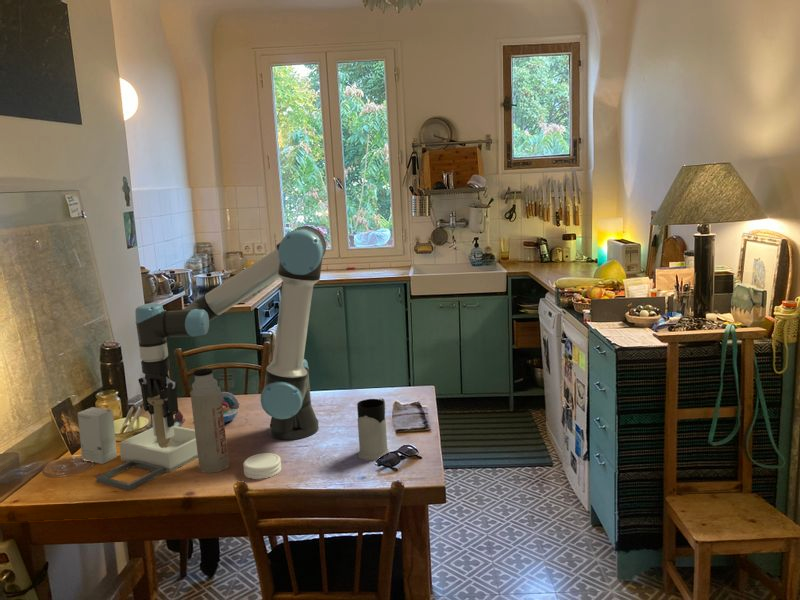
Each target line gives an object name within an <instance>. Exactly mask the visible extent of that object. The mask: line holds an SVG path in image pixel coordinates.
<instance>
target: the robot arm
mask: <svg viewBox="0 0 800 600" xmlns="http://www.w3.org/2000/svg"><path fill="white" fill-rule="evenodd" d="M274 247H275V249H274V250H273V251H271V252H269V253H268V254H266V255H264V256H263V257H262V258H259V260H257V261H256V262H254V263H252V264H250V265H249V266H248V267H246V268H245V269H243V270H241V271H240V272H238V273H237V274H235V275H233V276H232V277H230V278H229V279H227V280H226V281H224V282H222V283H221V284H219V285H217V286H216V287H214V288H212V289H211V290H209V292H207V293H206V294H204V295H202V296H200V297H199V298H197V299H195V300H193V301H192V302H190V303H189V304H188V305H187V306H185V307H184V308H182V309H179V310H165V309H164V308H163V307H164V306H163V305H162V303H147V304H146V303H145V304H141V305H139V306H137V307H135V310H134V311H135V313H134V314H135V325H136V331H137V332H136V333H137V339H138V349H139V357H140V360H141V361H140V365H141V372H142V374H144V376H143V377H140V378H138V380H137V381H138V383H139V385H140V390H141V391H140V392H141V397H142V404H143V410H144V412H148V413H149V414H150V421H151V422H152V424H153V431H154V436H157V435H156V428H155V415H154V406H153V405H151V404H149V403H148V400H147V398H148V397H150V398H153V397H155V396H158V395H160V399H163V400H164V399H166V398H168V400H167V401H165V400H164V404H163V405H162V406H163V410H164V414H165V415H164V416H163V422H164V430H165V438H166V439H168V438H170V437H172V436H174V427H173V426H174V418H175V417H174V416H175V414H177V413H178V410H179V405H178V404H179V402H178V401H179V400H178V391H177V390H178V389H177V388H178V381H177V380H172V379H171V378H170V375H169V370H170V369H171V365H170V358H169V357H168V356H169V349H168V339H167V338H185V337H188V338H190V337H193V338H194V337H200V336H205V335H207V334H208V332H209V330H210V322H211V321H213V320H214V319H215V318H217V317H219V316H220V315H223V313H225V312H227V311H228V310H229V309H232V308H233V307H235V306H236V305H238V304H239V303H241V302H243V301H244V300H246V299H247V298H249V297H251V296H253V295H254V294H255V293H257V292H259V291H260V290H262V289H263V288H265V287H267V286H268V285H270V284H272V283H274V282H275V281H276V280H277V279H279V278H280V279H281V281H282V283H281V284H282V285H281V292H280V300H279V309H278V317H277V324H276V326H277V327H276V333H275V339H274V348H273V356H272V357H273V358H272V361H270V363H269V365H267V366H266V368H265V370H266V371H265V376H264V377H265V378H264V386H263V389H262V391H261V393H260V404H261V405H260V406H261V408H262V409H263V411H264V412H265V413H266V414H267V415H268V416H270V417H271V419H270V423H269V434H270V436H271V437H273V438H274V439H278V440H297V439H302V438H306V437H309V436H312V435H314V434H315V433H317V432H318V430H319V420H318V418H317V417H316V414H315V410H314V409H313V407H312V400H311V397H312V396H311V386H310V375H309V370H310V368H309V363H308V361H307V359H305V352H306V351H305V350H306V343H307V336H308V329H309V328H308V327H309V321H310V313H311V307H312V297H313V290H314V286H315V284H317V283H318V282H319V281H321V280H320V279H321V274H322V272H321V271H322V264H323V259H324V256H325V254H326V250H327V242H326V239H325V237H324V235H323V234H322V233H321V231H319V230H318V229H317V228H315V227H312V226H308V225H307V226H304V225H303V226H298V227H297V228H294V229H293V230H291V231H290V232H288V233H287V234H285V235H284V237H283V238H282V239H281V241H280V242H278V243H277V244H276V245H275V246H274ZM168 411H169V412H168ZM151 422H150V423H151Z"/></svg>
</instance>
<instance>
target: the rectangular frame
mask: <svg viewBox="0 0 800 600" xmlns="http://www.w3.org/2000/svg"><path fill="white" fill-rule="evenodd" d="M133 466H134V467H133ZM137 467H138V468H137ZM127 468H128V469H130V468H137V469H141V468H142V470H146V469H147V470H146V471H150V470H152V471H150V472H148V473H147V474H144V475H143V476H141V477H138V478H137V479H134V480H133V481H131V482H126V481H122V480H118V479H114V478H112V477H114V476H115V475H118V474H120V473H122V472H124V471H127V470H128V469H127ZM162 473H163V474H164V473H166V471H165V467H163V466H158V465H154V464H150V463H145V462H141V461H137V460H130V461H128V462H124V463H122V464H121V465H118V466H116V467H114V468H112V469H110V470H107V471H105V472H103V473H101V474H99V475H97V476H96V477H95V478H96V483H97V484H98V483H99V484H103V485H105V486H106V485H107V486H109V487H113V488H118V489H120V490H121V489H122V490H125V491H128V492H130V491H132V490H134V489H136V488H138V487H139V485H140V486H141V484H142V485H143V483H144V484H145V483H147V482H150V481H151V480H153V479H155V478H157V477H159V476H160V474H161V475H162ZM158 475H159V476H158ZM156 476H157V477H156ZM154 477H155V478H154ZM137 486H138V487H137Z"/></svg>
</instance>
